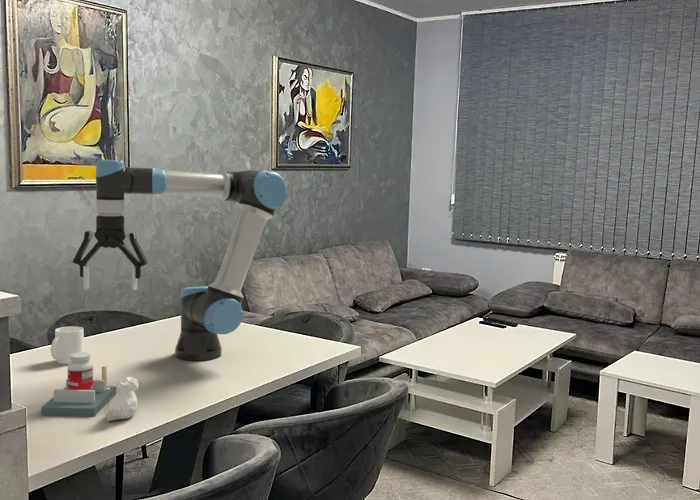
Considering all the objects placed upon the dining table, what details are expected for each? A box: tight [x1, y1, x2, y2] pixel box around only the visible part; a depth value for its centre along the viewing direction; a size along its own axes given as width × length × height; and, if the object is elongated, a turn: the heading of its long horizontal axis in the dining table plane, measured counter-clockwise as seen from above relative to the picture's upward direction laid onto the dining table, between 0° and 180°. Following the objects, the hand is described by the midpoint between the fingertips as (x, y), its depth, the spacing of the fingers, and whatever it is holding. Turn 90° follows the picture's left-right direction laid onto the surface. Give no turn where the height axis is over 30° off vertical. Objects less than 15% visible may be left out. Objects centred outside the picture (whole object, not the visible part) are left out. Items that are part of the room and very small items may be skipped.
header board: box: [40, 365, 117, 417], centre depth 181 cm, size 13×18×8 cm
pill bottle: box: [67, 352, 94, 390], centre depth 181 cm, size 6×6×11 cm
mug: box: [50, 325, 85, 366], centre depth 218 cm, size 12×8×10 cm
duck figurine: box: [104, 376, 139, 422], centre depth 173 cm, size 12×8×11 cm
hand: (110, 289), depth 200 cm, fingers open, 13 cm apart
